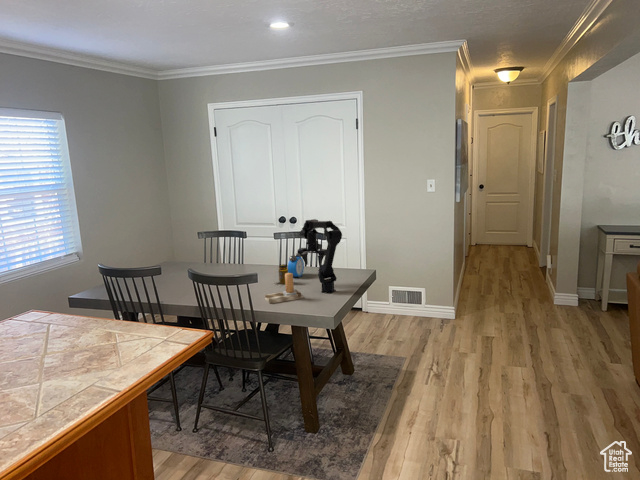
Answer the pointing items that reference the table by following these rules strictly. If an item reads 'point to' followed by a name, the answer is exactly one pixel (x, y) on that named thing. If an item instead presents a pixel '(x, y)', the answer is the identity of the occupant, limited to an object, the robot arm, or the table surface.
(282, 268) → the condiment
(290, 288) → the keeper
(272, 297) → the track
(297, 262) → the alarm clock
